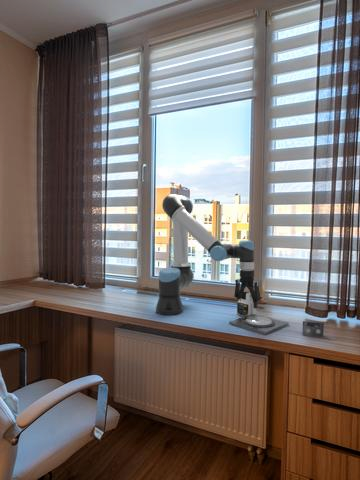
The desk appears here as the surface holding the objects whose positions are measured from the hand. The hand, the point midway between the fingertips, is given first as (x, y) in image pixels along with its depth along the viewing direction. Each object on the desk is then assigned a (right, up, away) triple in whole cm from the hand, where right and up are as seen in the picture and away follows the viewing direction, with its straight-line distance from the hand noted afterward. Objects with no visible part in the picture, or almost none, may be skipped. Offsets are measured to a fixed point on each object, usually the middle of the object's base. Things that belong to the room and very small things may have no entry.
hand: (247, 312), depth 165 cm
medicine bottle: (0, -1, 0) cm, 2 cm away
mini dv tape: (+22, -3, -30) cm, 37 cm away
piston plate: (+2, -2, -16) cm, 16 cm away
